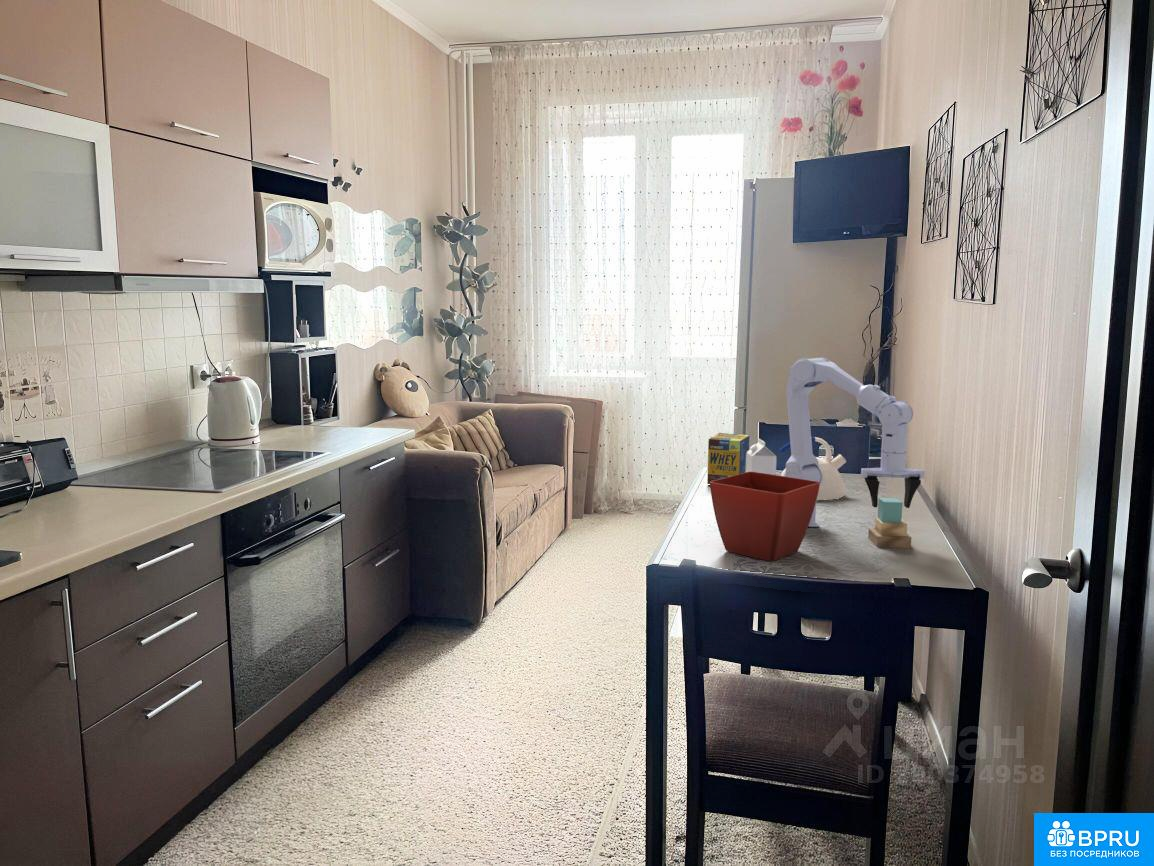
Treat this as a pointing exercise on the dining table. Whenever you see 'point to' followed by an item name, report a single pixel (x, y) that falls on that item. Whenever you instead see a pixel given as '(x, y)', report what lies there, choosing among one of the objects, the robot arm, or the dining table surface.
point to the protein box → (727, 455)
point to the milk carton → (760, 459)
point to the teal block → (890, 510)
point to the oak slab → (891, 528)
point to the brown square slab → (888, 540)
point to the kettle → (827, 473)
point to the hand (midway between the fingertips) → (890, 506)
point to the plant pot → (763, 513)
